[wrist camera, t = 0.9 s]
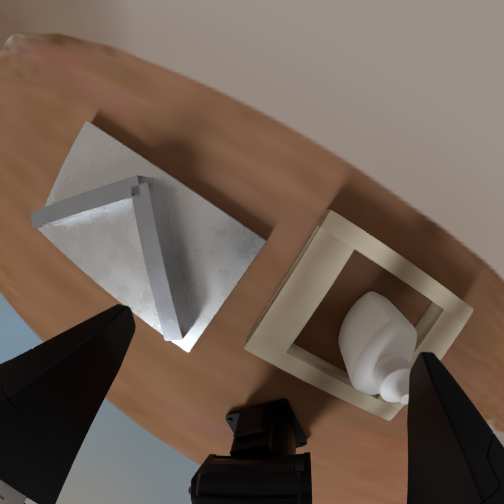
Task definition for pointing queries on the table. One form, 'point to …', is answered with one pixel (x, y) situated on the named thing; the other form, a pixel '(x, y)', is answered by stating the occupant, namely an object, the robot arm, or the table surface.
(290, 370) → the beige square frame
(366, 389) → the eye dropper bottle
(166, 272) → the silver tray
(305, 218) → the table surface
